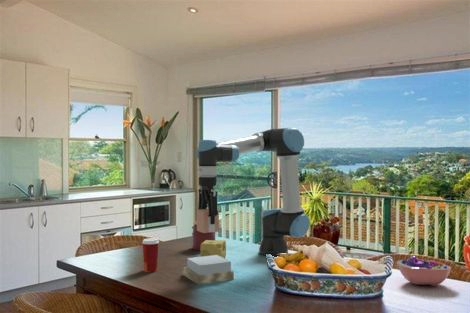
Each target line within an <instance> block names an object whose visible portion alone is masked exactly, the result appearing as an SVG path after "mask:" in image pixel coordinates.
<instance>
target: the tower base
mask: <svg viewBox="0 0 470 313" xmlns="http://www.w3.org/2000/svg"><path fill="white" fill-rule="evenodd" d="M234 273H235V271H234V270H232V269H231V271H229V272H221V273H214V274H207V275H198V274H197V273H195V272H194V271H192V270H190V269H189V268H187V266H185V267H184V266H183V272H182V274H183V277H185V278H187V279H189V280H190V281H192V282H194V283H195V284H197V285H199V286H200V285H205V284H206V283H207V284H212V282H213V283H218V282H217V281H219V282H226V281H231V280H235V274H234ZM207 284H206V285H207Z"/></svg>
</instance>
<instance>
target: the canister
mask: <svg viewBox="0 0 470 313" xmlns="http://www.w3.org/2000/svg"><path fill="white" fill-rule="evenodd" d="M191 228H192V233H191V234H192V235H191V237H192V238H191V242H192V243H191V247H192V250H194V251H198V252H199V251H200V252H201V250H200V248H201V244H202V243H203V242H204V241H205V240H216V233H217V232H210V233H202V232H199V231H197V219H195V221H194V222H193V226H192V227H191Z"/></svg>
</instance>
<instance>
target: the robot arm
mask: <svg viewBox="0 0 470 313" xmlns="http://www.w3.org/2000/svg"><path fill="white" fill-rule="evenodd" d="M304 147H305V138H304V135H303V133H302V132H301V131H300V130H299V129H298V128H295V127H284V128H271V129H267V130H264V131H263V130H262V131H260V132H256V133H253V134H251V135H250V136H246V137H241V138H235V139H232V140H226V141H222V142H217V141H216V140H215V139H200V140H199V141H198V147H197V148H196V150H195V156H196V158H197V160H198V168H197V170H198V186H200V187H201V188H200V189H198V203H197V204H198V206H197V209H208V210H209V215H208V232H215V216H216V215H218V210H219V209H218V191H216V190H215V189H214V187H215V186H217V177H216V176H217V171H218V170H217V168H218V167H217V166H218V165H217V163H234V162H236V161H238V159H239V157H240V155H243V154H246V153H252V152H256V153H260V152H275V154H276V157H277V158H278V160H279V165H280V166H279V167H280V182H281V183H280V184H281V194H282V195H281V197H282V208H270V209H268V208H267V209H264V210H263V211H262V213H261V214H262V216H261V231H262V232H261V233H262V234H261V237H262V238H261V241H260V244H259V248H258V253H259V255H263V256H266V254H271V255H273V256H272V257H278V256H277V254H278V253H288V254H289V248H288V244H287V242H286V236H287V237H292V238H302V237H303V238H304V236H305V235H306V234H307V233H308V232H309V229H310V222H311V221H310V218H309V216H308V215H307V214H305V208H304V207H302V206H301V194H300V181H299V167H298V165H299V164H298V163H299V162H298V158H299V156H300V155H301V151H303V148H304ZM215 233H216V232H215Z"/></svg>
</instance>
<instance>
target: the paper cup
mask: <svg viewBox="0 0 470 313" xmlns="http://www.w3.org/2000/svg"><path fill="white" fill-rule="evenodd" d="M159 243H160V241H159V239H158V238H155V237H149V238H144V239H143V240H142V242H141V244H142V254H143V257H142V258H143V266H144V267H143V269H144V272H145V273H155V272H158V263H159V245H160V244H159Z"/></svg>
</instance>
